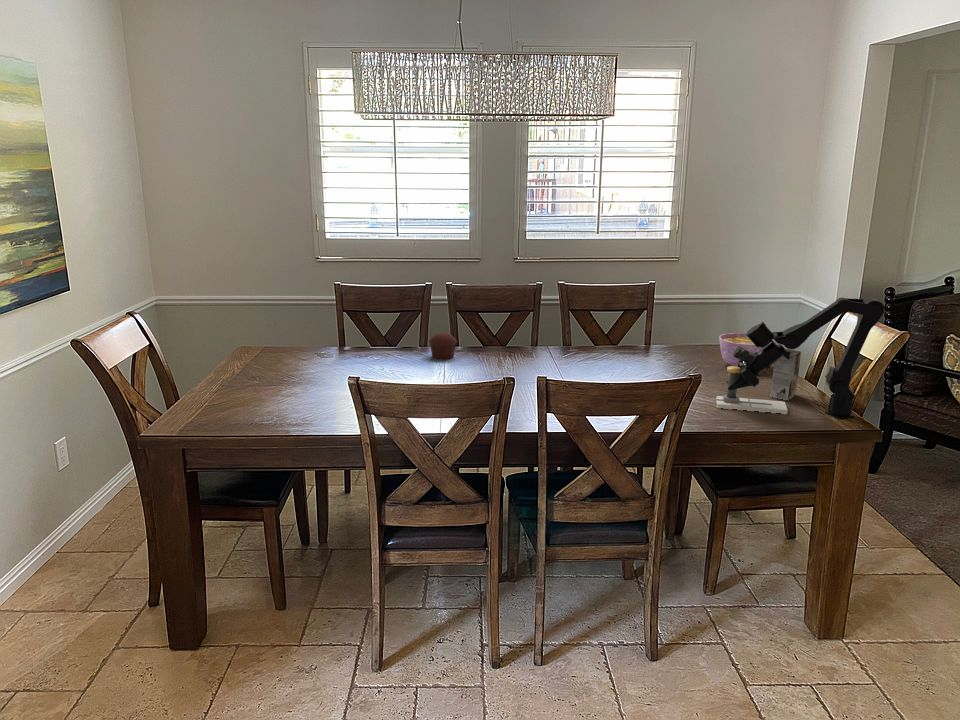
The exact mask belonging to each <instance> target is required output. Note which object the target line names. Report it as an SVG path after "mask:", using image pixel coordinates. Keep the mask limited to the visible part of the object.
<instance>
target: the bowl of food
mask: <svg viewBox="0 0 960 720" xmlns="http://www.w3.org/2000/svg"><path fill="white" fill-rule="evenodd" d="M718 340H719V347H720V353H721V357H722V359H723V360H724V362H725V363H727V364H729V366H736V367H737V363H739V364H740V363H741V362H739V361H738V359H737V358H735V357H734V356H733V355H734V354H733V353H734V351H735V350H736V348H737V346H740V347H742V348H744V349H746V350H748V351H749V352H751V353H754V352H757V351H758V352H760V351H761V350H762V349H764V348H765V347H766V346H765V347H763V348H761V347H756V346H755V344H754V343H753V342H752V341H751V340H750V339H749V338H748V337H747V336H746V333H744V332H743V333H742V332H741V333H740V332H737V333H736V332H733V333H732V332H730V333H724V334H719V336H718ZM770 343H772V342H770ZM770 343H769V344H770ZM769 344H768V345H769ZM768 345H767V346H768Z"/></svg>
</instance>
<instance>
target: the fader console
mask: <svg viewBox="0 0 960 720" xmlns="http://www.w3.org/2000/svg"><path fill="white" fill-rule="evenodd" d="M715 401H716V409H721V408H723V410H724V409H725V410H732V409H737V410H736V411H743V410H747V411H746V412H754V411H759V412H758V413H765V412H771V413H770V414H776V413H781V414H780V415H788V407H787V404H786V402H785V401H780V400H770V399H759V398H758V399H757V398H745V397H739V403H737V402H725V401H723V395H717V396H716V398H715Z"/></svg>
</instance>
